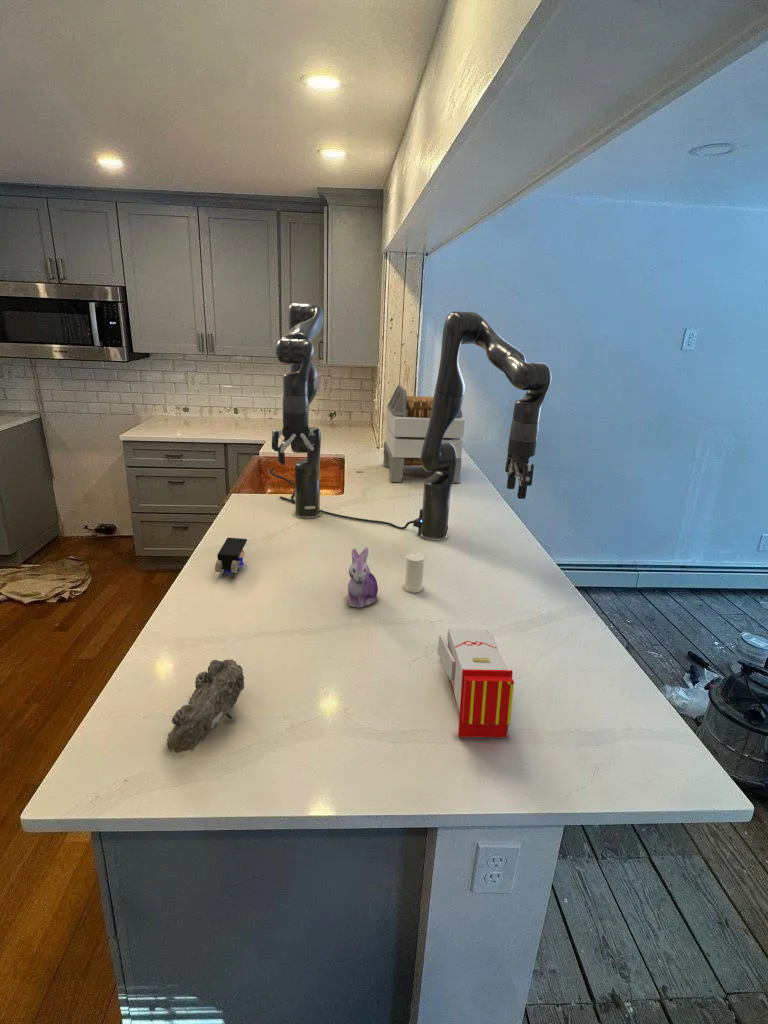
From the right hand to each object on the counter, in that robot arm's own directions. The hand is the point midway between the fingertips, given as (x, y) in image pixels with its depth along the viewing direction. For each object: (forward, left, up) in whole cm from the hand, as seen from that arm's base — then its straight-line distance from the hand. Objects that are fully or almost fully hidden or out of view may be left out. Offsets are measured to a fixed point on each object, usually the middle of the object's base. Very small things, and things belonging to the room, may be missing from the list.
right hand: (515, 493), depth 161 cm
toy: (+17, -55, -27) cm, 64 cm away
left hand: (-60, -26, +3) cm, 66 cm away
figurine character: (-65, -48, -27) cm, 86 cm away
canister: (-18, -24, -27) cm, 40 cm away
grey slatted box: (-80, +80, -27) cm, 116 cm away
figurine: (-24, -39, -27) cm, 53 cm away
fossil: (-19, -93, -27) cm, 99 cm away
